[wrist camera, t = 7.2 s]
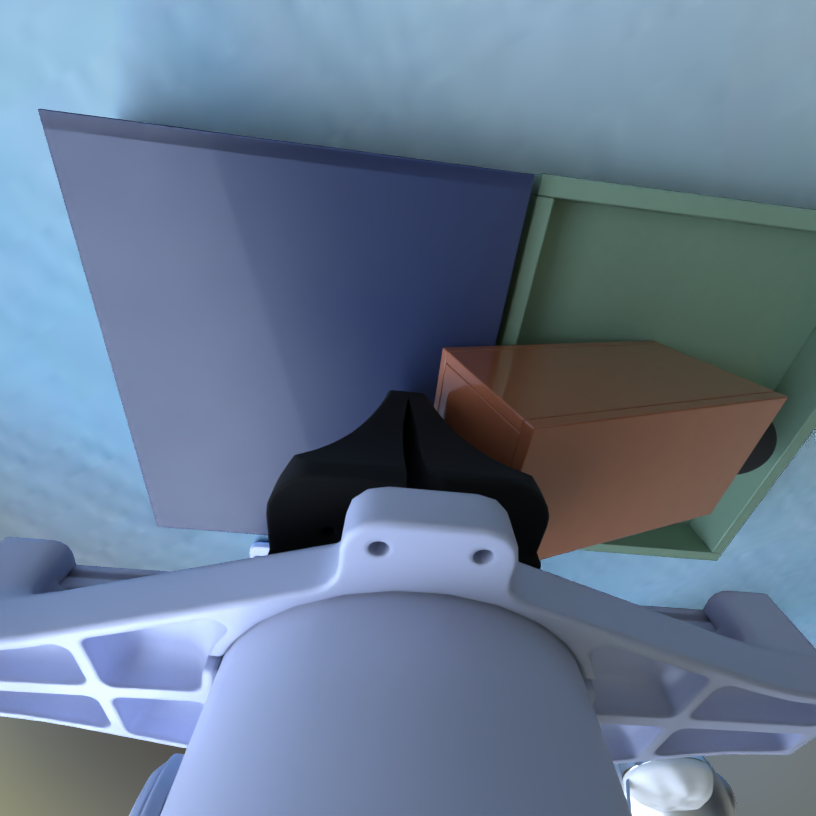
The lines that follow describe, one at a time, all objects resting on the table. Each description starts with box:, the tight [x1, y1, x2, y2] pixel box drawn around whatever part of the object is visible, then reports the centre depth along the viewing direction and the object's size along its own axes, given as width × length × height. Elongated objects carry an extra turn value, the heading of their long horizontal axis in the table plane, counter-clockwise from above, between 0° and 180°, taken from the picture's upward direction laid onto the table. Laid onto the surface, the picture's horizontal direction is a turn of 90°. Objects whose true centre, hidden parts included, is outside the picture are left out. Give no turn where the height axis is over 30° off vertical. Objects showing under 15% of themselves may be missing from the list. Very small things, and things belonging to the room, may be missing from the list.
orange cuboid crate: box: [434, 341, 788, 560], centre depth 14 cm, size 10×5×5 cm, turn 84°
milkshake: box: [618, 756, 713, 813], centre depth 24 cm, size 5×5×10 cm
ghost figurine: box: [614, 756, 737, 816], centre depth 31 cm, size 9×10×10 cm
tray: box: [495, 174, 816, 561], centre depth 17 cm, size 16×14×2 cm
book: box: [38, 109, 535, 535], centre depth 16 cm, size 16×14×3 cm
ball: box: [737, 422, 777, 475], centre depth 17 cm, size 3×3×3 cm
